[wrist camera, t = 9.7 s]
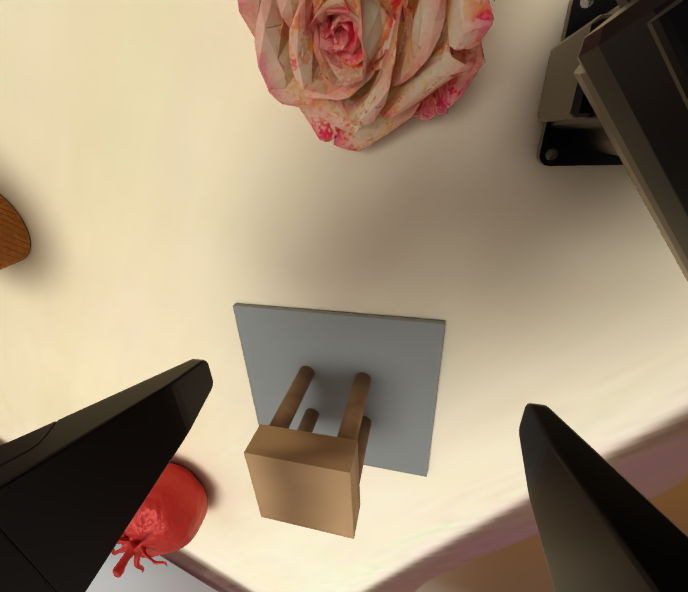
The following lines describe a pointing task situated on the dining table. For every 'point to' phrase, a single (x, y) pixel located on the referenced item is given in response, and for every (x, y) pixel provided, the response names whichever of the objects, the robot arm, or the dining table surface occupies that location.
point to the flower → (367, 60)
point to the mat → (349, 374)
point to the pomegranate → (164, 518)
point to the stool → (311, 462)
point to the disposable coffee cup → (12, 236)
